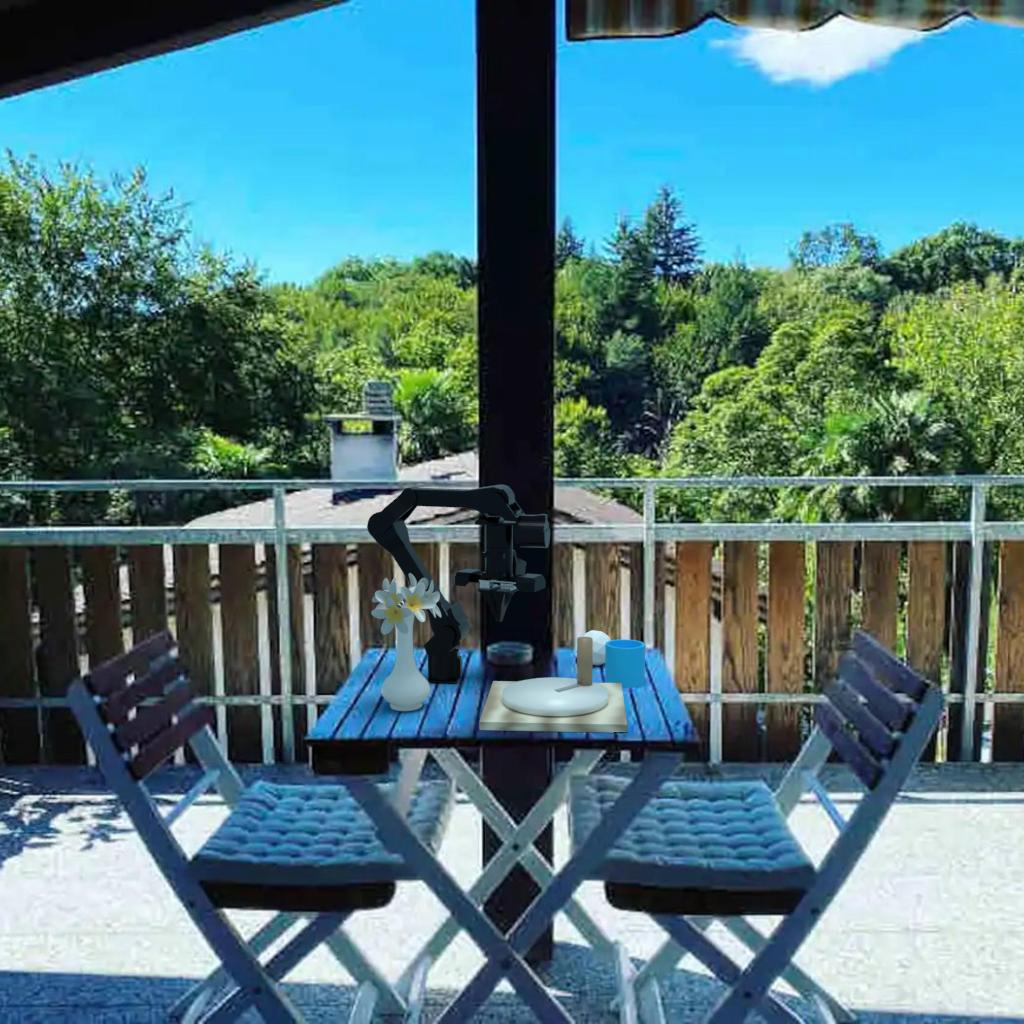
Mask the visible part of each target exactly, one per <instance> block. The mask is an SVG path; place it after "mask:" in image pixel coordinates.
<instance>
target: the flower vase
mask: <svg viewBox="0 0 1024 1024" xmlns="http://www.w3.org/2000/svg"><path fill="white" fill-rule="evenodd" d="M409 579H410V582H411V585H409V587H407V586H399V585H398V584H397V579H396V577H394V578H393V579H392V581H391V583H390V582H389V578H387V577H385V578H384V579H383V581H382V584H381V587H382V590H376V591H375V593H374V596H373V597H372V599H371V602H372V603H378V604H376V606H375V609H373V610H372V611H371V612H370V613H371V616H373V617H374V618H376V619H379V620H382V619H383V622H382V624H381V625H380V626H381V627H380V633H381V634H382V635H388V634H390V632H392V630H393V629H394V627H396V635H397V637H396V645H397V646H396V657H395V658H396V659H395V663H394V666H393V668H392V671H391V673H390V674H388V676H387V677H386V678H385V680H384V681H383V683H382V685H381V695H382V697H383V699H384V700H385V701H386V702H387V703H389V708H390V709H391V710H393V711H397V712H411V711H417V710H420V709H421V708H422V707H423V702H424V701H426V699H427V698H428V697H429V696H430V693H431V686H430V682H428V680H427V678H426V677H425V675H423V674H422V672H420V670H419V668H418V666H417V662H416V660H415V659H416V658H415V651H414V621H415V618H416V619H417V620H418V621H419V622H420V623H424V622H426V616H427V615H426V613H425V611H424V610H426V609H429V610H430V611H431V612H432V614H433V615H434V617H435V618H436V614H437V615H438V616H439V617H440V618H441V612H440V610H439V608H438V606H437V605H436V603H437V602H438V601H439V599H440V593H439V592H438V591H436V592H434V593H432V592H433V589H434V583H433V580H434V579H433V580H431V584H430V587H429V590H428V591H426V592H425V590H426V589H427V587H428V580H427V579H426V578H422V579H421V580H420V581H419V582H418V584H417V581H416V579H415V577H414V576H413V575H412V574H411V573H409ZM416 584H417V585H416ZM435 613H436V614H435Z"/></svg>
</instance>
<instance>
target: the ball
mask: <svg viewBox="0 0 1024 1024" xmlns="http://www.w3.org/2000/svg"><path fill="white" fill-rule="evenodd" d="M581 637H591V638H593V666H598V667H599V666H601V665H603V664H605V643H606V642H608V641H611V638H610V636H609V635H607V634H606V633H605V632H603V631H600V630H594V629H591V630H590V631H588V632H585V633H584V634H582V636H581Z"/></svg>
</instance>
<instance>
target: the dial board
mask: <svg viewBox="0 0 1024 1024" xmlns="http://www.w3.org/2000/svg"><path fill="white" fill-rule="evenodd" d="M518 681H519V680H518ZM518 681H516V680H515V681H514V680H513V681H510V680H509V681H508V680H506V681H505V680H499V681H498V680H493V681H492V684H491V686H490V689H489V691H488V696H487V698H486V701H485V704H484V707H483V710H482V712H481V713H482V714H481V716H480V720H479V723H478V724H479V727H478V728H479V731H504V732H505V731H506V732H507V731H508V732H509V731H512V732H515V731H516V732H557V733H558V732H561V733H565V732H566V733H569V732H570V733H613V734H615V733H614V732H627V733H628V721H627V713H626V706H625V699H624V692H623V688H622V684H621V683H606V682H595V683H596V684H599V685H601V686H603V687H604V688H606V690H607V691H608V703H607V705H606V706H605V707H603V708H601V709H599V710H597V711H594V712H590V713H586V714H581V715H572V716H541V715H532V714H527V713H522V712H519V711H515V710H513V709H510V708H509V707H507V706H506V705H504V703H503V701H502V691H503V689H504V688H505V687H506V686H508V685H510V684H512V683H515V682H518Z"/></svg>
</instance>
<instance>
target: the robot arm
mask: <svg viewBox="0 0 1024 1024" xmlns="http://www.w3.org/2000/svg"><path fill="white" fill-rule="evenodd" d="M515 497H516V495H515V492H514V490H512V489H511V487H510V486H509V485H506V484H496V485H489V486H483V487H476V488H471V489H469V488H440V487H439V488H438V487H437V488H436V487H435V488H434V487H419V486H411V487H406V488H404V489H403V490H402V491H401V493H400V494H398V496H397V497H395V499H393V500H392V501H391V502H389V504H387V505H386V506H385V507H384V508H383V509H382V510H380V511H378V512H375V513H372V514H371V516H370V517H369V519H368V520H367V525H366V528H367V531H368V533H369V535H370V537H372V538H373V540H374V541H376V543H377V544H378V545H379V546H380V547H381V548H383V549H384V551H385V550H386V551H387V552H388V553H389V554H390V555H391V556H392V557H393V559H394V561H395V563H396V564H397V565H398V567H399V569H400V570H401V571H402V574H403V575H404V576H405V578H406V580H407V582H409V586H411V582H410V579H409V573H411V574H412V575H413V576H414V577H415V579H416V581H417V584H418V582H419V581H420V580H421V579H422V578H426V579H427V580H428V587H427V589H426V590H425V592H426V591H428V590H429V587H430V584H431V580H433V583H434V589H433V592H432V593H434V592H436V591H438V592H439V593H440V599H439V601H438V602H437V603H436V605H437V606H438V608H439V610H440V612H441V618H440V617H439V616H438V615H437V614H436V613H435V614H436V618H435V617H434V615H433V614H432V612H431V611H430V610H429V609H425V610H426V612H427V615H428V616H427V617H428V621H429V626H430V628H431V631H432V632H433V636H431V637H430V638H429V639H428V641H426V642H425V643H424V645H423V648H424V650H425V653H426V655H427V678H426V679H427V680H428V682H429V683H433V684H434V683H436V684H437V683H440V684H442V683H443V684H445V683H447V684H452V683H453V684H457V683H458V682H459V679H461V678H462V675H463V657H462V656H461V655H460V648H459V647H460V646H461V643H462V641H463V640H464V639H465V638H467V636H468V635H469V632H470V628H471V626H470V623H469V619H470V617H469V616H468V615H467V614H466V613H465V612H464V610H463V607H462V605H461V604H460V602H456V603H454V605H453V604H452V603H451V602H449V601H448V600H447V599H446V598H445V596H444V595H443V593H442V591H441V590H440V589H439V587H438V586H437V583H436V582H435V580H434V579H433V577H432V575H431V574H430V572H429V571H428V569H427V568H426V566H425V564H424V563H423V562H422V560H421V558H420V557H419V554H418V553H417V552H416V550H415V549H414V547H413V545H412V543H411V540H410V533H409V530H408V526H407V525H406V523H405V521H407V520H408V518H409V517H410V516H411V515H412V514H413V513H414V511H415V510H416V509H417V507H428V508H429V507H432V508H433V507H435V508H459V509H461V508H462V509H464V508H465V509H469V510H473V511H476V512H479V513H481V515H480V516H479V517H478V518H477V519H476V520H475V521H474V525H476V526H477V525H478V526H481V525H482V526H483V525H484V551H482V552H481V558H484V571H482V569H477V568H465V569H461V570H458V571H456V572H455V574H454V576H453V586H454V587H458V586H459V587H468V585H469V584H470V583H478V584H479V587H478V589H477V592H479V593H481V594H482V596H483V597H484V599H485V601H486V602H487V604H488V606H489V608H490V610H491V612H492V615H493V616H494V619H495V621H496V622H499V623H500V622H503V620H504V617H505V614H506V611H507V609H508V605H509V603H510V601H511V599H512V597H513V595H514V594H515V593H516V592H518V591H519V592H521V593H522V592H524V593H536V592H538V591H541V590H543V589H546V579H545V577H544V575H543V574H537V573H525V572H526V568H527V567H526V566H527V561H525V560H523V559H521V558H518V557H517V551H516V550H515V549H514V546H513V545H514V543H515V544H518V546H519V548H539V549H540V548H541V549H548V548H549V545H550V542H551V541H550V540H551V528H550V524H549V521H548V514H547V513H540V514H525V512H524V510H523V509H522V508H521V506H520V505H519V504H518V502H517V501H516V498H515ZM513 541H514V543H513ZM417 584H416V585H417Z"/></svg>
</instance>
